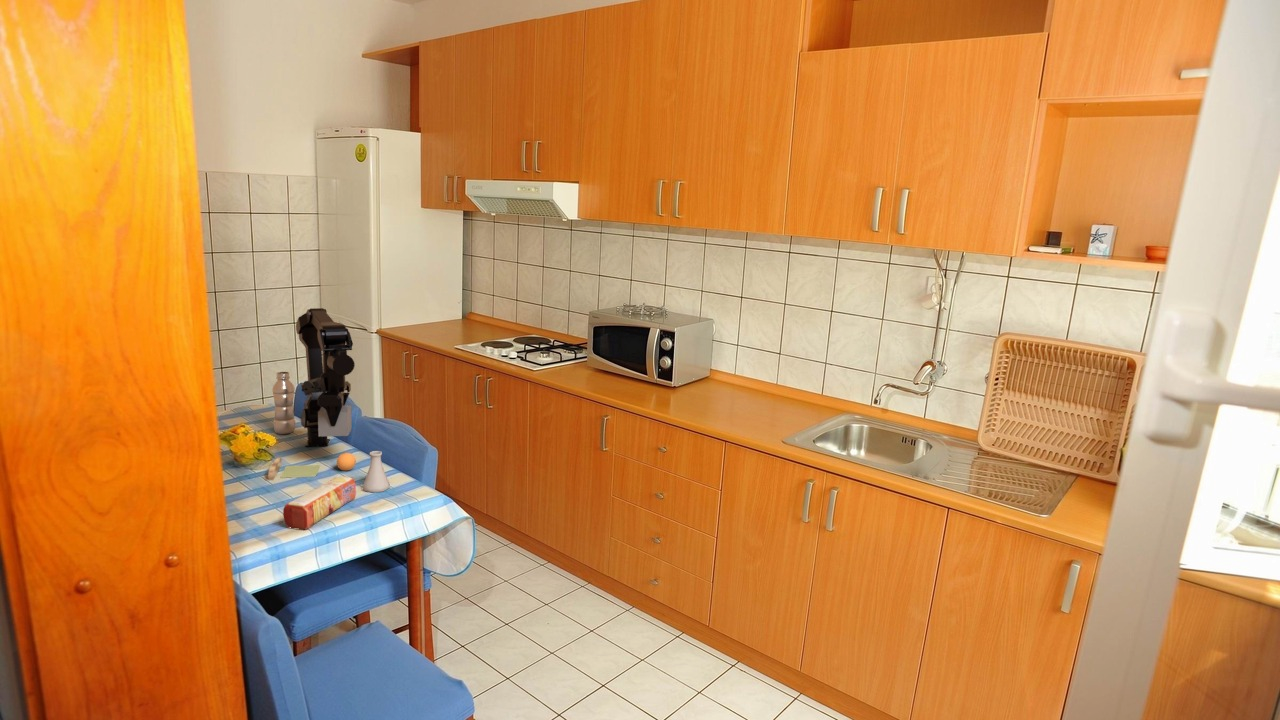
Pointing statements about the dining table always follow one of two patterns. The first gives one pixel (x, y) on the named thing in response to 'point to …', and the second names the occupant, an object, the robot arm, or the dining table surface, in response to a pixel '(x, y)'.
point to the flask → (376, 475)
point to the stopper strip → (274, 468)
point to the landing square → (300, 471)
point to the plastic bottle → (283, 404)
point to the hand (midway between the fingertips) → (335, 422)
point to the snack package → (319, 502)
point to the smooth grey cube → (341, 426)
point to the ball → (346, 461)
